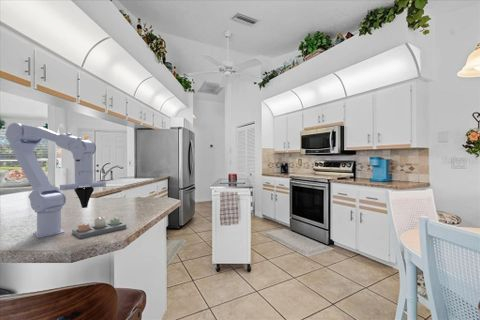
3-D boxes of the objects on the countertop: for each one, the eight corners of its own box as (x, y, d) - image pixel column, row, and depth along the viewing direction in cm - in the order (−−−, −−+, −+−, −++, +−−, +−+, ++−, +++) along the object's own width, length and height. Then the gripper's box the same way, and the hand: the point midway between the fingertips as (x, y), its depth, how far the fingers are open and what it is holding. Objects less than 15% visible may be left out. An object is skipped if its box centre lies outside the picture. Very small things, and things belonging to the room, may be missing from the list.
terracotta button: (76, 234, 87) (76, 224, 87) (87, 231, 89) (87, 222, 89) (79, 236, 84) (79, 226, 84) (90, 233, 87) (90, 223, 87)
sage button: (108, 227, 95) (108, 218, 95) (117, 225, 98) (117, 216, 98) (111, 229, 93) (111, 219, 93) (121, 227, 95) (121, 218, 95)
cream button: (93, 227, 91) (93, 217, 91) (103, 225, 93) (103, 216, 93) (96, 228, 88) (96, 219, 88) (106, 226, 91) (106, 217, 91)
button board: (72, 233, 88) (72, 229, 88) (116, 224, 100) (116, 220, 100) (80, 238, 82) (80, 234, 82) (126, 228, 94) (126, 224, 94)
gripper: (62, 172, 79) (63, 212, 79) (108, 171, 90) (109, 205, 90) (58, 172, 84) (58, 209, 84) (102, 170, 95) (102, 203, 95)
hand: (84, 207), depth 87 cm, fingers closed
